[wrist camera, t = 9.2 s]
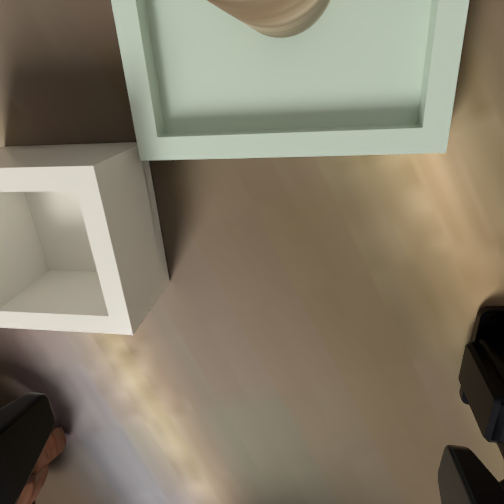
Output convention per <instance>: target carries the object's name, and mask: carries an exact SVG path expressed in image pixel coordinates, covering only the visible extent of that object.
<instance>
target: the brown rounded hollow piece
mask: <svg viewBox="0 0 504 504" xmlns="http://www.w3.org/2000/svg"><path fill="white" fill-rule="evenodd" d="M65 444H66V439H65V435H64V432H63V429H62V427H55V428H54V429H53V430H52V432H51V434H50V436H49V438H48V440H47V442H46V445H45V447H44V449H43V451H42V453H41V455H40V457H39V459H38V461H37V463H36V465H35V467H34V469H33V471H32V473H31V475H30V477H29V479H28V481H27V483H26V485H25V487H24V489H23V491H22V493H21V494H20V496H19V498H18V500H17V501H16V503H15V504H35V499H36V497H37V495H38V494H39V492H40V490H41V488H42V486H43V485H44V483H45V480H46V477H47V473H48V468H49V466H48V464H49V463H50V462H51V461H52V460H53V459H54V458H55V457H56V456H58V455H59V453H61V452H63V448H64V446H65Z"/></svg>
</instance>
